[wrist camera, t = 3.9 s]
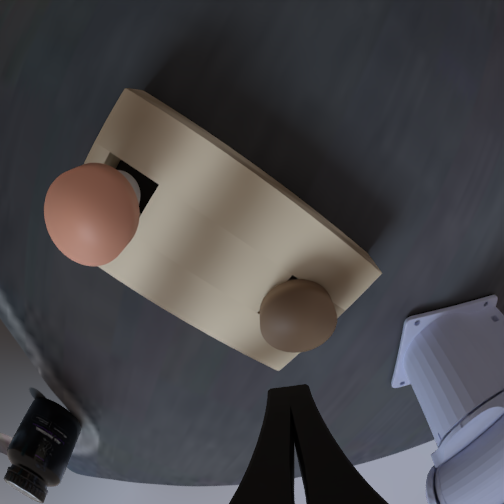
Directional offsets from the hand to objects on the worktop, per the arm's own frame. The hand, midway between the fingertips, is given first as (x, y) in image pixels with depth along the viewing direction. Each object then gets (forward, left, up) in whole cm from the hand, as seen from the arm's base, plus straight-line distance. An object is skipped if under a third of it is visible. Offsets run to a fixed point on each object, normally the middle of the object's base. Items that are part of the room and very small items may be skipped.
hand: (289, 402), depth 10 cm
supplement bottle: (+27, +16, -10) cm, 33 cm away
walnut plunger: (-1, +1, -9) cm, 9 cm away
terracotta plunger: (+7, -7, -7) cm, 12 cm away
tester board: (+3, -3, -10) cm, 10 cm away
